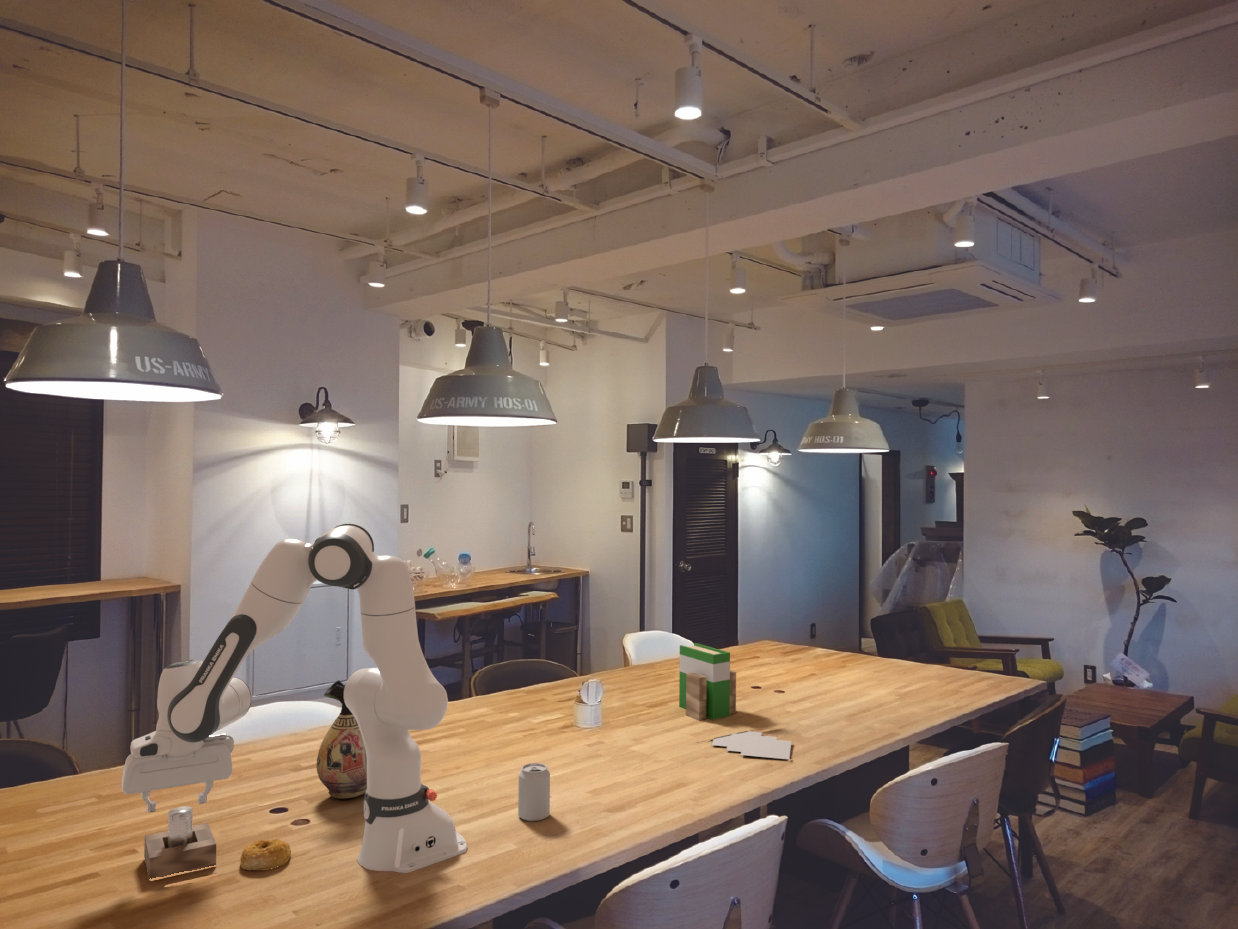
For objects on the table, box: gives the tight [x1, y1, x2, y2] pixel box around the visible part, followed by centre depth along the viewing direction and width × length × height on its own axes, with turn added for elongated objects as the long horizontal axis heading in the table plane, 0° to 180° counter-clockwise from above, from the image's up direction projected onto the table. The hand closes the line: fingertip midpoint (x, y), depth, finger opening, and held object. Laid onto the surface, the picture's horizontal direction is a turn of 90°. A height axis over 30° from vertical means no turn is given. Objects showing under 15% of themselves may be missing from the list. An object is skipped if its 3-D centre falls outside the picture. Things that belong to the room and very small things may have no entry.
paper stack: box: [711, 730, 792, 760], centre depth 256 cm, size 23×25×1 cm
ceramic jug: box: [316, 679, 367, 799], centre depth 214 cm, size 17×15×30 cm
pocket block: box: [143, 822, 217, 880], centre depth 175 cm, size 12×12×5 cm
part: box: [167, 805, 194, 848], centre depth 175 cm, size 4×4×10 cm
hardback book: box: [678, 642, 731, 720], centre depth 289 cm, size 18×7×24 cm, turn 35°
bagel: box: [239, 838, 292, 871], centre depth 176 cm, size 10×11×5 cm
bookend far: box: [730, 669, 737, 715], centre depth 289 cm, size 3×7×14 cm, turn 33°
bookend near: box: [685, 672, 707, 721], centre depth 282 cm, size 3×7×14 cm, turn 34°
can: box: [517, 762, 551, 822], centre depth 200 cm, size 8×8×12 cm
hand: (177, 807), depth 174 cm, fingers open, 8 cm apart
